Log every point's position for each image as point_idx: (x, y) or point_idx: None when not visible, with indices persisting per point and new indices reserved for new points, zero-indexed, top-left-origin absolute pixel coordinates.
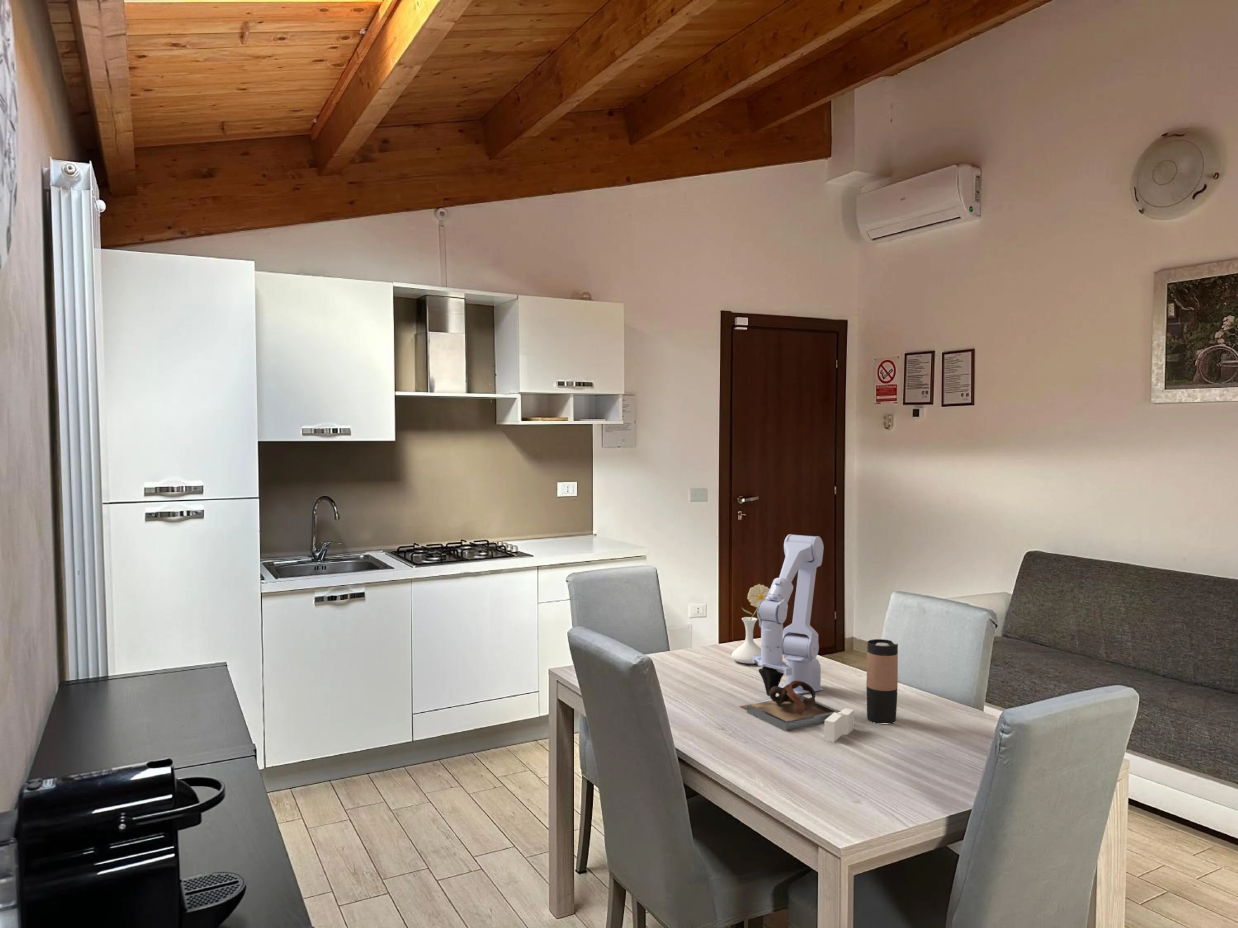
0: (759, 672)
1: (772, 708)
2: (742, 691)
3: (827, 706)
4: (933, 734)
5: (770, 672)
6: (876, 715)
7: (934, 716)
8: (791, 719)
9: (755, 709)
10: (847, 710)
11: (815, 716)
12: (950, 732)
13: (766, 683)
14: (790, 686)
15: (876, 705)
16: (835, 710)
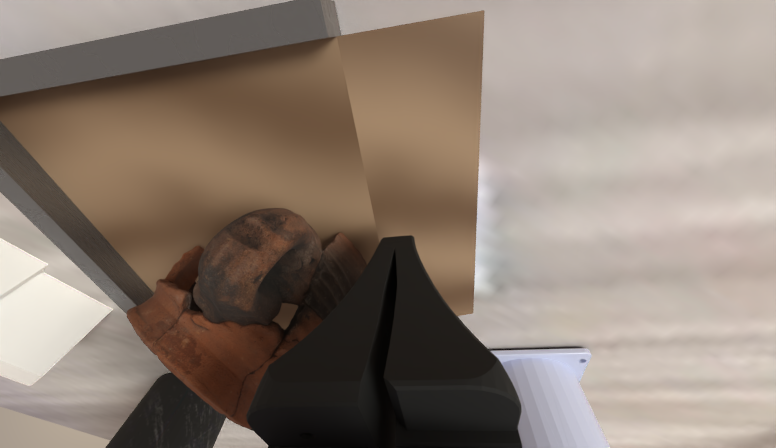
0: (482, 350)
1: (311, 186)
2: (699, 203)
3: None
4: (98, 406)
5: (258, 417)
6: (144, 398)
7: (220, 444)
8: (122, 184)
9: (204, 19)
10: (9, 370)
11: (98, 275)
12: (120, 424)
13: (398, 288)
14: (162, 358)
15: (119, 433)
16: None
